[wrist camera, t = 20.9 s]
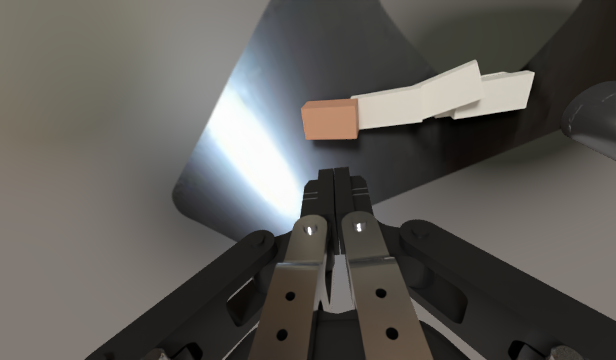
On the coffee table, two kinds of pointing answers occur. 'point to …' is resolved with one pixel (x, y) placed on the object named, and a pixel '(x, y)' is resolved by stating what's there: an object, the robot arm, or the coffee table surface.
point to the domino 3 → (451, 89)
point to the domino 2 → (390, 107)
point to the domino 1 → (331, 119)
